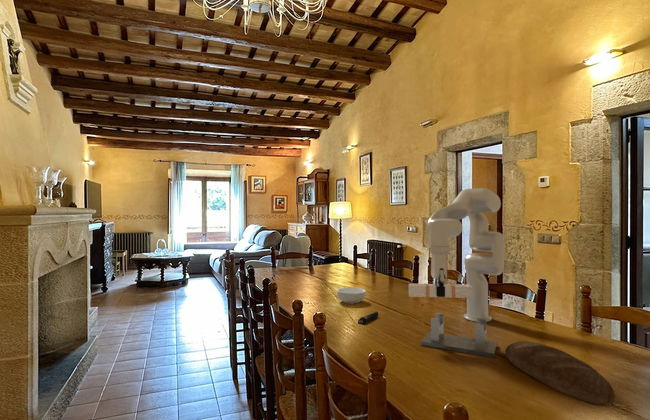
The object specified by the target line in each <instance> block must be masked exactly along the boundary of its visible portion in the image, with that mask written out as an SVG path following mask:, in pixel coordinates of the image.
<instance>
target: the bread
mask: <svg viewBox="0 0 650 420" xmlns="http://www.w3.org/2000/svg"><path fill="white" fill-rule="evenodd" d="M504 354H505V356H506V358H507V359H508V360H509V361H510V363H511V364H512V365H513V366H514V367H515V368H518V369H519V370H520V371H522V372H524V373H525V374H527V375H528V376H530V377H531V378H534V379H536V380H537V381H539V382H541V383H543V384H544V385H545V386H548V387H550V388H551V389H554V390H555V391H558V392H559V393H562V394H564V395H566V396H569V397H571V398H574V399H577V400H580V401H582V402H583V401H584V402H586V403H589V402H590V403H589V404H592V405H593V404H594V405H598V406H603V405H604V406H605V405H610V404H612V403H614V401H615V399H616V393H615V390H614V389H613V387H612V385H611V383H610V382H609V381H608V380H607V379H606V378H605V377H604V376H603V375H602V374H601V373H599V371H597V370H596V369H595V368H594V367H592V365H589V364H588V363H587V362H584V361H583V360H581V359H579V358H577V357H575V356H573V355H571V354H570V353H567V352H565V351H563V350H561V349H558V348H555V347H553V346H549V345H548V346H547V345H545V344H543V343H538V342H534V341H528V340H521V341H520V340H519V341H516V342H512V343H510V344H508V345H507V347H505V351H504Z"/></svg>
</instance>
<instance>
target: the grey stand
mask: <svg viewBox="0 0 650 420" xmlns="http://www.w3.org/2000/svg"><path fill="white" fill-rule="evenodd" d="M434 314H435V317H430V331H428V332H427V333H426V334H425V336H424V337H422V339H421V341H420V346H423V347H428V348H429V347H430V348H435V349H440V350H447V351H452V352H458V353H463V354H464V353H465V354H468V355H469V354H470V355H476V356H482V357H487V358H492V359H493V358H494V359H495V356H496V351H497V346H498V342H497V341H491V340H487V322H486V319H483V318H478V319H477V322H475V323H474V338H473V337H472V338H471V337H466V336H458V335H451V334H447V333H444V329H445V328H444V324H445V322H444V316H445V315H444V314H445V313H442V312H435V313H434Z"/></svg>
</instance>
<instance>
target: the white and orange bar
mask: <svg viewBox="0 0 650 420" xmlns="http://www.w3.org/2000/svg"><path fill="white" fill-rule="evenodd" d="M408 296H409V297H410V298H438V297H437V284H435V283H408ZM444 298H449V299H450V298H451V299H456V298H457V299H458V298H459V299H460V298H461V299H463V298H464V299H465V298H466V299H467V298H472V286H470V285H467V283H466V284H459V283H457V284H456V283H455V284H454V283H446V284H445V297H444Z"/></svg>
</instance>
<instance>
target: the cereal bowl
mask: <svg viewBox="0 0 650 420" xmlns="http://www.w3.org/2000/svg"><path fill="white" fill-rule="evenodd" d="M366 294H367V290H365V289H364V288H360V287H341V288H337V290H336V295H337V298H338V299H339V300H340V301H342V302H344V304H348V303H351V304H350V305H354V303H356V304H359V302H362V301H363V300H364V299H365V298H366V296H367V295H366Z"/></svg>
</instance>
